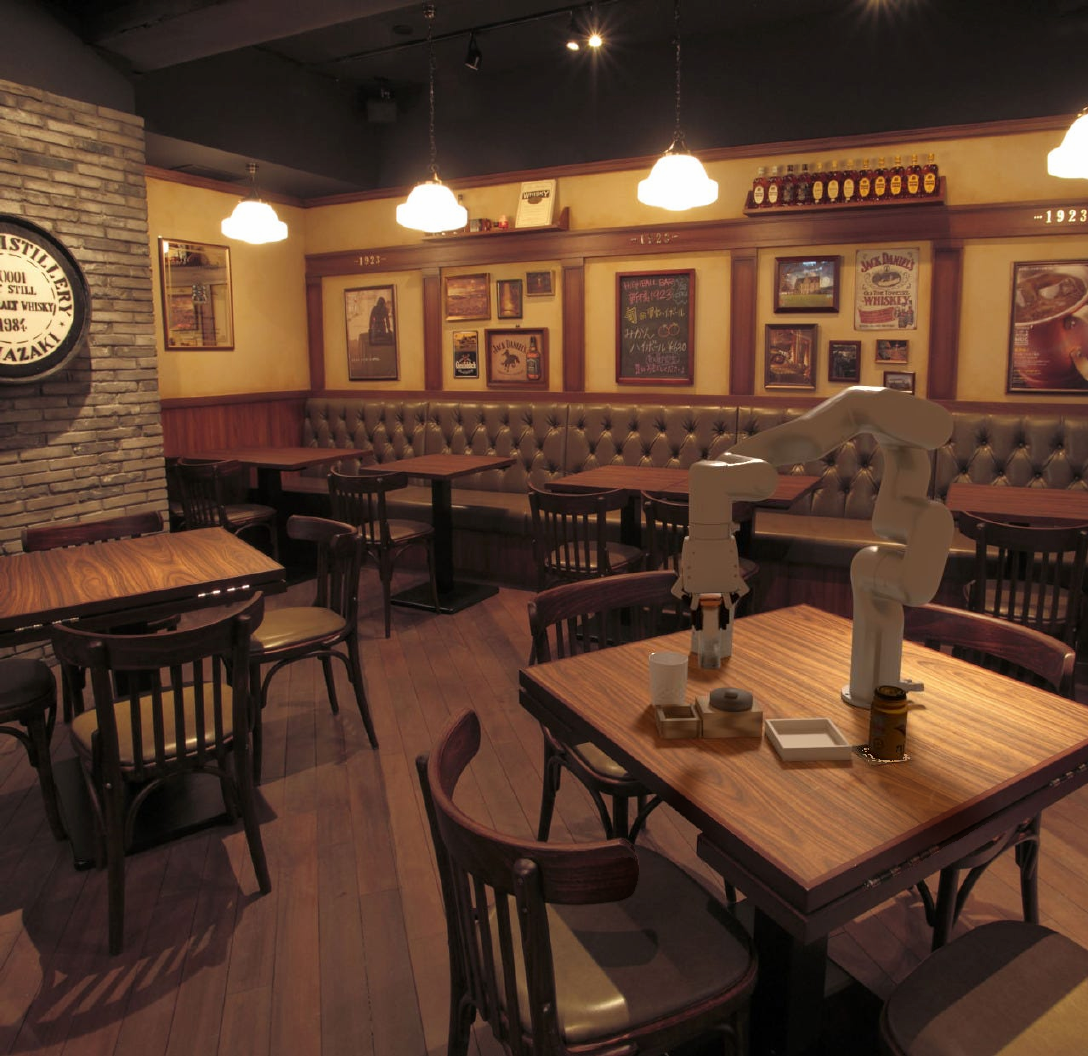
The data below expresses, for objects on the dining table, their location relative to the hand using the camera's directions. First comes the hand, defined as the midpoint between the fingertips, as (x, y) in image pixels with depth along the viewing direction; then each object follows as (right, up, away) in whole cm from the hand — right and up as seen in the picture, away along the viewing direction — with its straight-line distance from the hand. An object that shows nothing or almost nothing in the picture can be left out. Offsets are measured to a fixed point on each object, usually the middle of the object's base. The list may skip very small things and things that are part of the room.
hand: (709, 627), depth 159 cm
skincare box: (+9, -12, +46) cm, 49 cm away
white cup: (-5, -18, +18) cm, 26 cm away
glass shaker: (0, -7, +1) cm, 8 cm away
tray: (+17, -21, -2) cm, 27 cm away
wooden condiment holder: (+1, -20, +6) cm, 21 cm away
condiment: (+29, -22, -5) cm, 37 cm away
